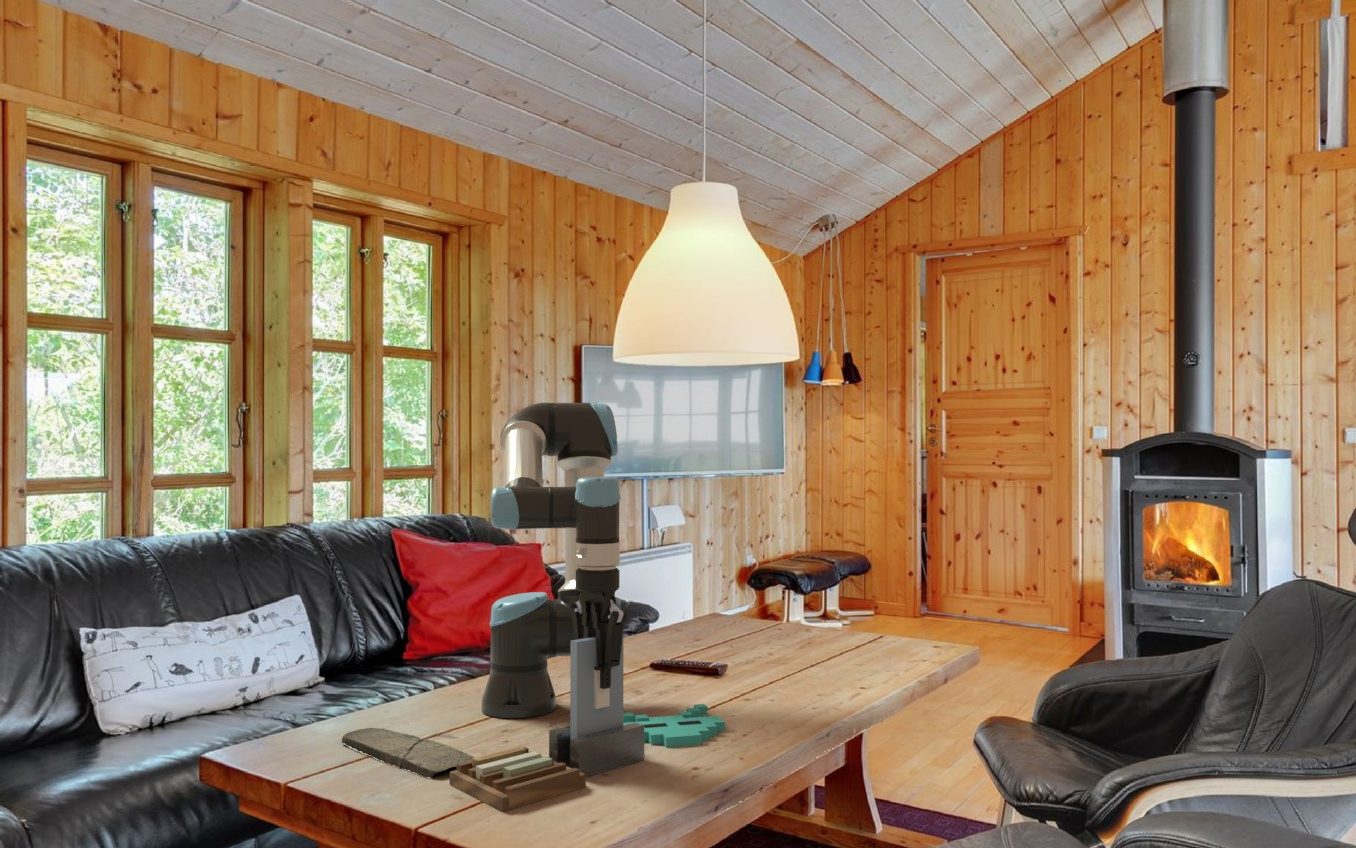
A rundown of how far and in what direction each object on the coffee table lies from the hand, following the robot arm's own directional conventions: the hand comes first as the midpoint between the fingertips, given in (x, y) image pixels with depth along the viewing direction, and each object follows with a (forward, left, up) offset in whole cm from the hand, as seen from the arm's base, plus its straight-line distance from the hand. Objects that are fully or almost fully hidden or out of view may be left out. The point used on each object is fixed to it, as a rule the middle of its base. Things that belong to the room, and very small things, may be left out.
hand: (597, 705), depth 165 cm
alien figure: (-6, +22, -11) cm, 25 cm away
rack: (0, -16, -10) cm, 19 cm away
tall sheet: (0, 0, -5) cm, 5 cm away
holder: (0, 0, -10) cm, 10 cm away
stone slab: (-27, -22, -11) cm, 36 cm away
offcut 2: (-2, -16, -10) cm, 19 cm away
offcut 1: (-6, -16, -10) cm, 20 cm away
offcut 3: (+2, -15, -10) cm, 18 cm away
